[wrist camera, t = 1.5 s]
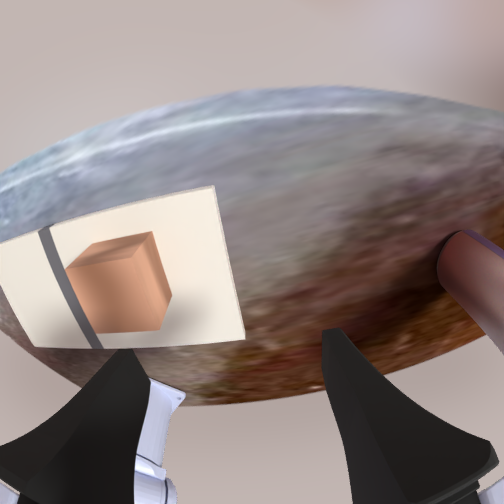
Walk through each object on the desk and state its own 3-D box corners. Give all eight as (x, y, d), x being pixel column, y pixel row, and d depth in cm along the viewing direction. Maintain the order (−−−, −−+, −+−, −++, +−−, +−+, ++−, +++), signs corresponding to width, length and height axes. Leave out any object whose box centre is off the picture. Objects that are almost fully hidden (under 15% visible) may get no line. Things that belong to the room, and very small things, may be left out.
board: (213, 184, 17) (212, 187, 17) (245, 331, 22) (245, 339, 22) (-9, 245, 18) (-14, 249, 17) (38, 341, 23) (34, 346, 22)
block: (152, 230, 18) (131, 257, 14) (172, 294, 20) (159, 330, 16) (92, 243, 18) (64, 269, 14) (115, 301, 20) (95, 333, 16)
